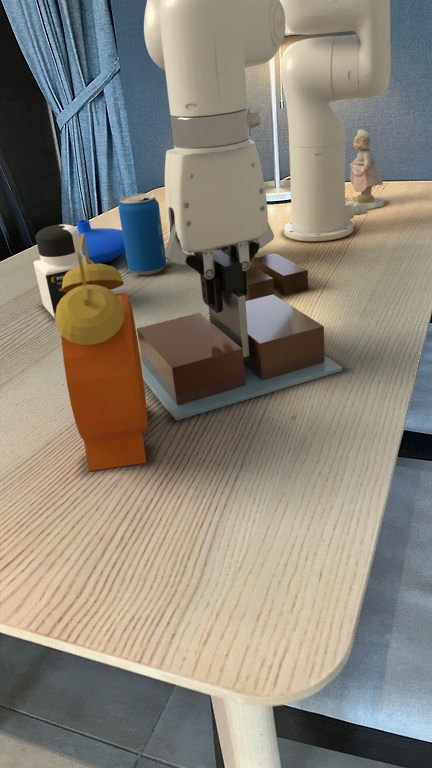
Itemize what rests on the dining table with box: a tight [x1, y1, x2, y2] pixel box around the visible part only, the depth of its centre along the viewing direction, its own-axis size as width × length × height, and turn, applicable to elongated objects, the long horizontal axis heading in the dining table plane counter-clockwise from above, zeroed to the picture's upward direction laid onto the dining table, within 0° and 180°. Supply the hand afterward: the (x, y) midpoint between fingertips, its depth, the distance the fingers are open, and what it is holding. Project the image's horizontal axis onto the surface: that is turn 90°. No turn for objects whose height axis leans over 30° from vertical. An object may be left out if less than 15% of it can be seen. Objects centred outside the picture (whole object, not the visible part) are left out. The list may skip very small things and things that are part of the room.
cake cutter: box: [208, 250, 249, 357], centre depth 74 cm, size 2×9×10 cm, turn 24°
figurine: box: [345, 128, 386, 210], centre depth 135 cm, size 11×10×15 cm
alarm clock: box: [54, 234, 148, 472], centre depth 62 cm, size 13×6×20 cm, turn 7°
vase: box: [76, 219, 126, 264], centre depth 118 cm, size 16×16×7 cm
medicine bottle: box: [33, 224, 94, 319], centre depth 97 cm, size 7×7×12 cm
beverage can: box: [118, 193, 168, 276], centre depth 109 cm, size 6×6×12 cm
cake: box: [136, 294, 343, 422], centre depth 77 cm, size 20×16×5 cm
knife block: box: [245, 252, 309, 301], centre depth 100 cm, size 10×10×3 cm
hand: (225, 304), depth 75 cm, fingers closed on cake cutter, 2 cm apart
